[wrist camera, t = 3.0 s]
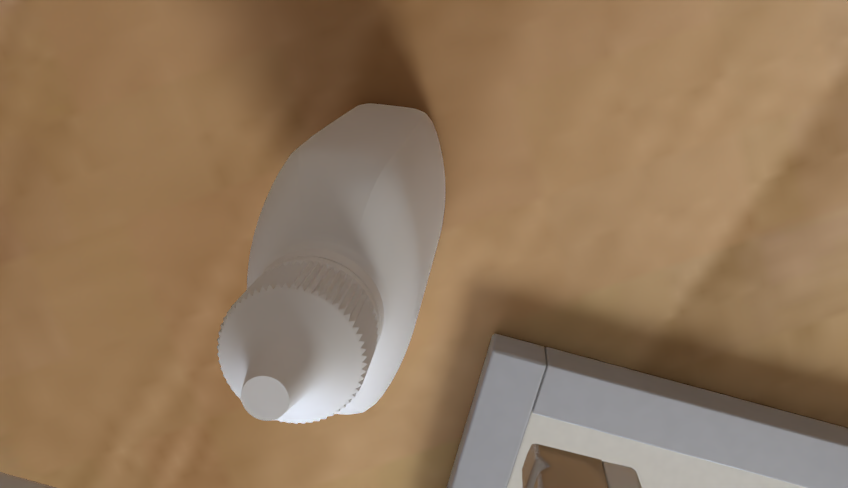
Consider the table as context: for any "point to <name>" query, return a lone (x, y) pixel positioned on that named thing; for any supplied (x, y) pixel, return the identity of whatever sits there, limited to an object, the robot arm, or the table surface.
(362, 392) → the eye dropper bottle
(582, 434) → the whiteboard
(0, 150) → the table surface
